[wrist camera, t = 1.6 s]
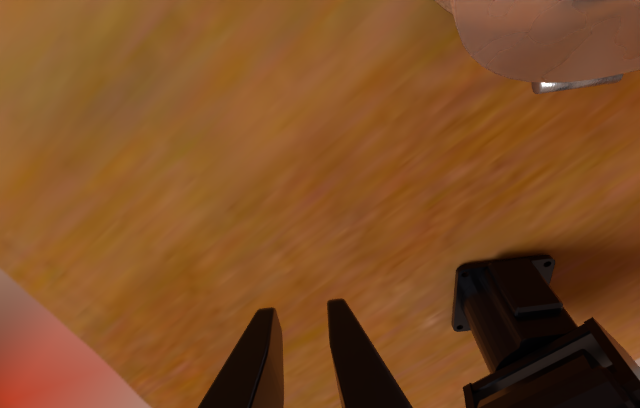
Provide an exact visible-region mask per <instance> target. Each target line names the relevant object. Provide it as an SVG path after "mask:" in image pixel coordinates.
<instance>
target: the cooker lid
mask: <svg viewBox="0 0 640 408" xmlns="http://www.w3.org/2000/svg"><path fill="white" fill-rule="evenodd" d="M450 4H451V8H452V12H453V15H454V19H455V23H456V27H457V30H458V32H459V35H460V38H461V41H462V44H463V45H464V47H465V48H466V49H467V51H468V52H469V54H470V55H471V57H472V58H474V59H475V60H476V61H477V62H478V63H479V64H480V65H482V66H483V67H485V68H486V69H488V70H490V71H492V72H494V73H495V74H498V75H501V76H504V77H507V78H510V79H515V80H521V81H526V82H532V89H533V92H534V93H535V94H541V93H548V92H555V91H562V90H569V89H576V88H583V87H590V86H597V85H604V84H611V83H617V82H619V81H620V80H621V78H622V76H623V73H627V72H632V71H636V70H640V0H450Z"/></svg>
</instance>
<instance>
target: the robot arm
mask: <svg viewBox="0 0 640 408" xmlns="http://www.w3.org/2000/svg"><path fill="white" fill-rule="evenodd" d="M554 265H555V261H554V259H553V258H552V257H551V256H550V255H539V256H531V257H524V258H516V259H508V260H500V261H492V262H484V263H477V264H469V265H462V266H460V267H458V268H457V270H456V277H455V289H454V301H453V313H452V327H453V329H454V331H457V332H461V331H469V330H471V331H472V334H473V336H474V338H475V340H476V343H477V345H478V347H479V349H480V352H481V354H482V356H483V358H484V360H485V363H486V365H487V367H488V369H489V372H490V374H489V375H488V376H486V377H484V378H482V379H480V380H478V381H476V382H475V383H473V384H472V383H469V384H467V385H466V386H464V387H463V391H464V396H465V404H466V408H640V367H639V366H638V365H637V364H636V362H635V361H634V360H633V359H632V358H631V356H630V355H629V354H628V353H627V352H626V350H625V349H624V348H623V347H622V346H621V345H620V344H619V343H618V342H617V341H616V340H615V339H614V338H613V337H612V336H611V335H610V334H609V333H608V332H607V331H606V330H605V329H604V328H603V327H602V326H601V325H600V324H599V323H598V322H597V321H596V320H595V319H594V318H593V317H592V318H590V319H588V320H587V321H585V322H584V323H585V324H583V325H581V326H579V327H578V326H577V325H576V324H575V322H574V321H573V320H572V318H571V317H570V315H569V314H568V313H567V311H566V310H565V309H564V307H563V304H562V302H561V301H560V299H559V298H558V297H557V295H556V294H555V293H554V291H553V290H552V289H551V287H550V286H549V283H550V280H551V276H552V272H553V269H554ZM464 272H465V273H464ZM327 310H328V327H329V341H330V348H331V353H332V358H333V364H334V369H335V374H336V380H337V385H338V390H339V395H340V400H341V405H342V408H413V407H412V406H411V404H410V403H409V401H408V399H407V398H406V396H405V395H404V393H403V392H402V390H401V388H400V387H399V385H398V384H397V382H396V380H395V379H394V377H393V376H392V374H391V373H390V371H389V369H388V368H387V366H386V365H385V363H384V361H383V360H382V358H381V357H380V355H379V354H378V352H377V350H376V349H375V347H374V346H373V344H372V342H371V341H370V339H369V338H368V336H367V335H366V333H365V331H364V330H363V328H362V327H361V325H360V324H359V322H358V320H357V319H356V317H355V316H354V314H353V312H352V311H351V309H350V308H349V306H348V305H347V303H346V301H345V300H344V299H333V300H329V301H328V302H327ZM283 404H284V378H283V344H282V331H281V326H280V323H279V319H278V316H277V313H276V310H275V308H272V307H271V308H263V309H259V310H258V311H257V312H256V313H255V315H254V317H253V318H252V320H251V321H250V323H249V325H248V326H247V328H246V330H245V331H244V333H243V335H242V336H241V338H240V339H239V341H238V343H237V344H236V346H235V348H234V349H233V351H232V353H231V354H230V356H229V357H228V359H227V361H226V362H225V364H224V366H223V367H222V369H221V371H220V372H219V374H218V375H217V377H216V379H215V380H214V382H213V384H212V385H211V387H210V389H209V390H208V392H207V393H206V395H205V397H204V398H203V400H202V402H201V403H200V405H199V407H198V408H283Z"/></svg>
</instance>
